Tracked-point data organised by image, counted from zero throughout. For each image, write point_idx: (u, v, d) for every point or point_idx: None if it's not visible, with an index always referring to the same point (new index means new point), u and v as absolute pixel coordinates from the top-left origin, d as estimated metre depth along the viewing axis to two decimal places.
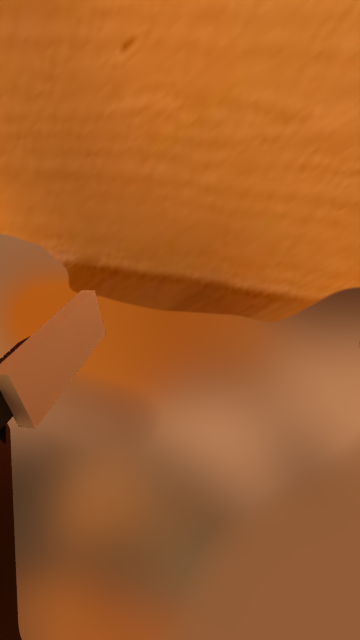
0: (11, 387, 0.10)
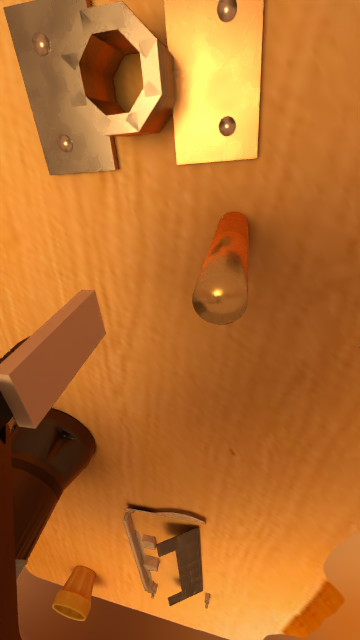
0: (11, 387, 0.10)
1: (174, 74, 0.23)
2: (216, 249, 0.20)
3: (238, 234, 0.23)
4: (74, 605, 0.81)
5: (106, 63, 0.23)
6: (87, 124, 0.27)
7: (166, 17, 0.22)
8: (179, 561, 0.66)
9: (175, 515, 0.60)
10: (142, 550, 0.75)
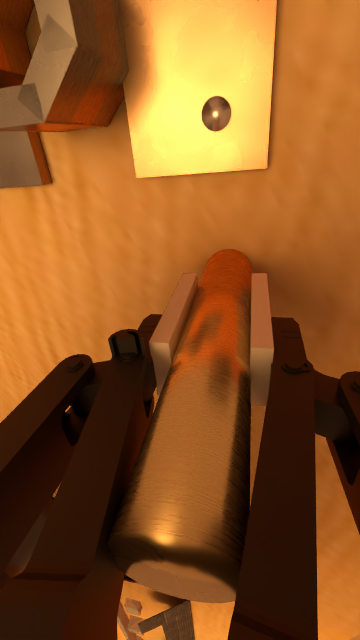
0: (166, 355, 0.11)
1: (120, 20, 0.13)
2: (185, 366, 0.10)
3: (233, 311, 0.12)
4: None
5: None
6: None
7: None
8: (167, 633, 0.57)
9: None
10: None
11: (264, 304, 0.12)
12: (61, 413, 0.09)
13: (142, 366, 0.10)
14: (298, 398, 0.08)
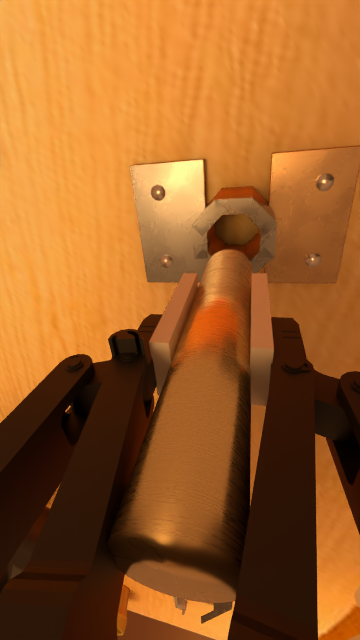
0: (166, 355, 0.11)
1: None
2: (185, 365, 0.09)
3: (233, 311, 0.12)
4: None
5: None
6: (188, 249, 0.31)
7: (271, 183, 0.27)
8: None
9: None
10: None
11: (264, 304, 0.13)
12: (61, 413, 0.09)
13: (142, 366, 0.10)
14: (298, 398, 0.08)
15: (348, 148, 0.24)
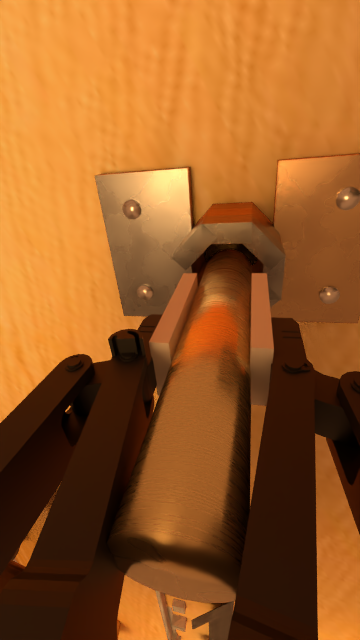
0: (166, 355, 0.11)
1: None
2: (185, 365, 0.09)
3: (233, 310, 0.12)
4: None
5: None
6: (172, 278, 0.25)
7: (277, 199, 0.20)
8: (211, 629, 0.65)
9: None
10: (170, 610, 0.74)
11: (264, 304, 0.13)
12: (61, 413, 0.09)
13: (142, 366, 0.10)
14: (298, 399, 0.08)
15: None
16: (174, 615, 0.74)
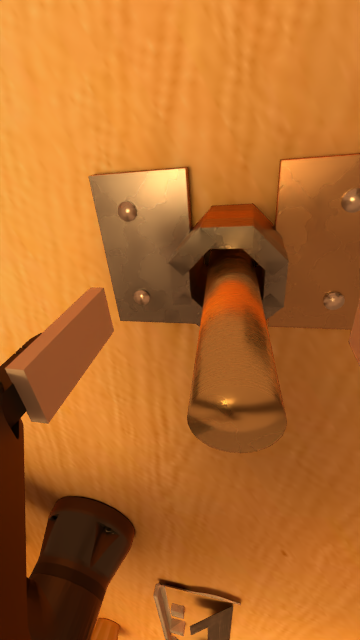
0: (26, 382, 0.10)
1: None
2: (219, 307, 0.13)
3: (246, 274, 0.16)
4: None
5: None
6: (170, 283, 0.24)
7: (279, 201, 0.19)
8: (209, 634, 0.65)
9: (210, 596, 0.58)
10: (168, 614, 0.73)
11: None
12: None
13: None
14: None
15: None
16: (173, 619, 0.74)
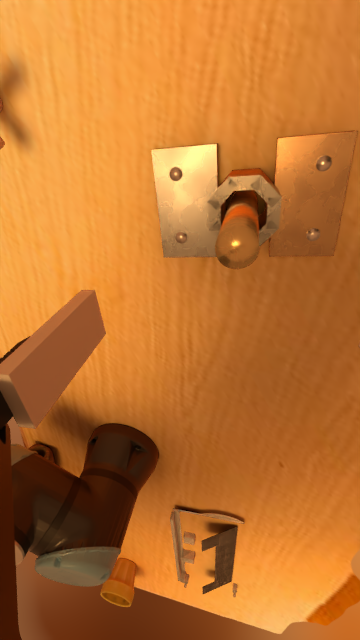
0: (11, 387, 0.10)
1: None
2: (232, 212, 0.24)
3: (250, 203, 0.27)
4: (121, 593, 0.90)
5: None
6: (201, 226, 0.35)
7: (276, 165, 0.30)
8: (217, 555, 0.76)
9: (218, 516, 0.70)
10: (180, 545, 0.84)
11: None
12: None
13: None
14: None
15: (344, 133, 0.28)
16: (184, 550, 0.85)
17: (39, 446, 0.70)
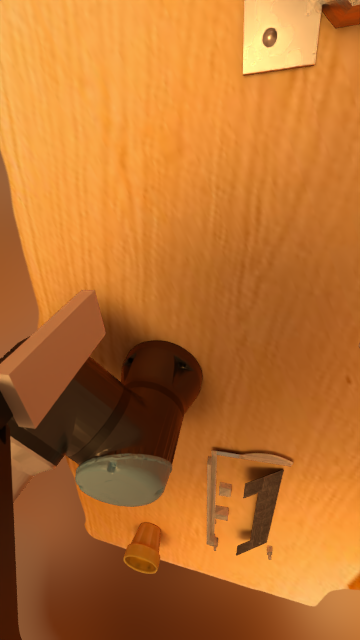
0: (11, 387, 0.10)
1: None
2: None
3: None
4: (147, 556, 0.83)
5: None
6: (299, 14, 0.28)
7: None
8: (257, 505, 0.69)
9: (263, 456, 0.62)
10: (213, 500, 0.77)
11: None
12: None
13: None
14: None
15: None
16: (217, 506, 0.78)
17: None
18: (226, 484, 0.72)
